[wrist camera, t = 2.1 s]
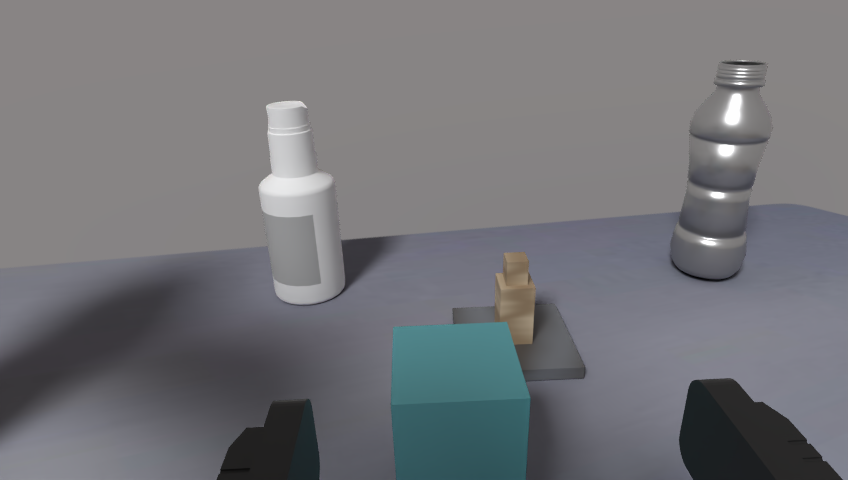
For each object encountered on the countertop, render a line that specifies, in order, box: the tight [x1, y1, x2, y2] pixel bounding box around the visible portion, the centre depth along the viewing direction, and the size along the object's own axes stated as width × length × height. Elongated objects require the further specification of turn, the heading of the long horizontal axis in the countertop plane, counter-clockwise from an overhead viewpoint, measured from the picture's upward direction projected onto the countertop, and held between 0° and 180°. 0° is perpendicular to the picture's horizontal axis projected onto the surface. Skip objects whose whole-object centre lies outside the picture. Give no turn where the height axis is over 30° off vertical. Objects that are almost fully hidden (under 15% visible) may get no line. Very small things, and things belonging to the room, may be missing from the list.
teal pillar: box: [391, 322, 531, 480], centre depth 27 cm, size 6×6×12 cm
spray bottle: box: [259, 101, 345, 305], centre depth 51 cm, size 7×7×18 cm
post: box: [453, 252, 585, 381], centre depth 43 cm, size 9×9×8 cm
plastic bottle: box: [670, 60, 773, 279], centre depth 51 cm, size 6×7×20 cm
